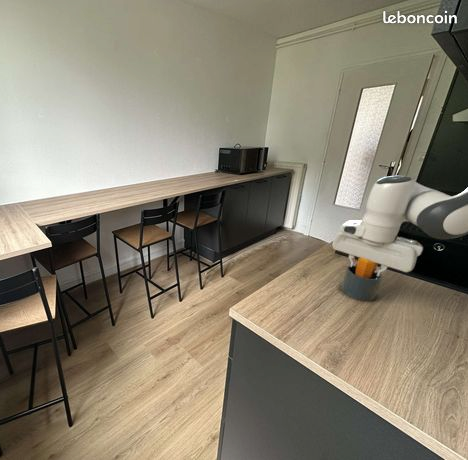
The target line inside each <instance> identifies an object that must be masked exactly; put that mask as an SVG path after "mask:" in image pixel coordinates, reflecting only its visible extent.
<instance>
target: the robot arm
mask: <svg viewBox="0 0 468 460" xmlns="http://www.w3.org/2000/svg"><path fill="white" fill-rule="evenodd" d="M405 222H407V223H411V224H413V225H415V226H416V227H418V228H419V229H420V230H421V231H423V232H424V233H425V234H426V235H427V236H429V237H431V238H433V239H437V240H453V239H457V238H460V237H463V236H466V235H468V187H467V188H466V189H465V190H464V191H462V192H461V193H458V194H456V195H452V196H451V195H449V194H446V193H444V192H441V191H439V190H436V189H434V188H430V187H427V186H424V185H423V184H420V183H419V182H417V181H416V180H414V179H413V178H412V177H410V176H406V175H390V176H383V177H382V178H380V179H378V180H376V181H375V183H374V184H373V186H372V187H371V190H370V192H369V195H368V198H367V200H366V204H365V212H364V215H363V216H362V218H361V220H348V221H346V222H344V223H343V224H341V226H340V230H339V231H338V232H336V234H335V236H334V239H333V241H332V244H331V246H332V249H333V250H335V251H339V252H342V253H345V254H346V255H347V254H348V259H349V261H350V264H349V265H350V267H352V268H356V265H357V260H356V257H357V258H359V257H360V258H364V259H368V260H370V261H372V262H375V263H378V265H380V268H378V267H377V268H376V270H374V273H373V275H375V276H378V277H379V276H380V275H381V274H382V273H383V272H384V271H386V270H387V269H388V268H391V269H393V270H398V271H400V272H403V273H409V272H412V271H413V270H414V269H415V267H416V264H417V260H418V257H419V256H421V255H422V254H423V251H424V246H423V245H422V244H421V243H420V242H419V241H417V240H414V239H409V238H405V237H403V236H398V234H399V232H400V229H401V226H402V224H403V223H405Z"/></svg>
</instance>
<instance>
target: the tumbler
mask: <svg viewBox="0 0 468 460" xmlns="http://www.w3.org/2000/svg"><path fill="white" fill-rule="evenodd" d="M350 265H351V264H348V265H347V266H346V269H345V273H344V276H343V280H342V282H341V287H340V289H341V291H342V292H343V293H344V294H345V295H346V296H348V297H350V298H351V299H354V300H358V301H363V302H370V301H373V300H375V298H376V296H377V293H378V291H379V287H380V284H381V282H382V279H383V274H382V273H381V275H380V276H379V277H378V276H375V275H373V276H372V277H371V279H367V278H363V277H360V276H357V275H356V268H352V267H350Z"/></svg>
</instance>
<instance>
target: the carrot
mask: <svg viewBox="0 0 468 460" xmlns="http://www.w3.org/2000/svg"><path fill="white" fill-rule="evenodd" d="M356 262H357V265H356V275H357V276H360V277H363V278H367V279H371V277H372V276H373V273H374V270H376V268H377V269H378V265H379V264H378V263H375V262H372V261H370V260H368V259H364V258H360V257H357V260H356Z"/></svg>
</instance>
